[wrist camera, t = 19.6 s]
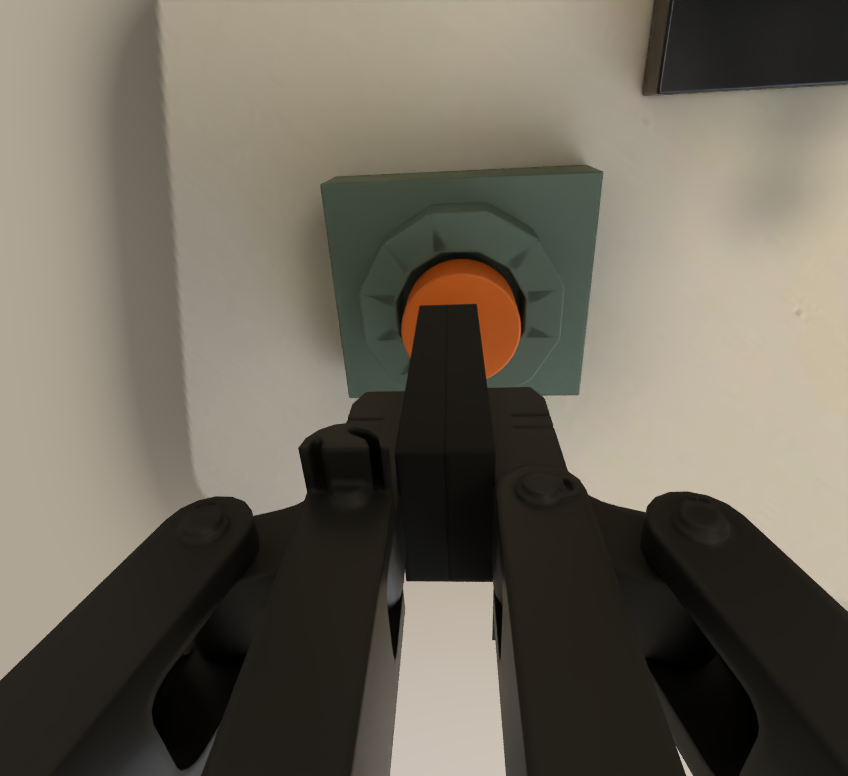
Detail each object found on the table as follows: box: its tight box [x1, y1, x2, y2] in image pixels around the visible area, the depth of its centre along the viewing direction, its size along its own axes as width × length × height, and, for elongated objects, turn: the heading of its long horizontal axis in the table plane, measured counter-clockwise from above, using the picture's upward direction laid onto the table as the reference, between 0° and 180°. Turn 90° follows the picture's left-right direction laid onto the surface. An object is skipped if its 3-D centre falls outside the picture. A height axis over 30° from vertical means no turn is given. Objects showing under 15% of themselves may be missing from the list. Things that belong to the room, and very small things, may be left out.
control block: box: [321, 165, 603, 398], centre depth 18 cm, size 9×8×4 cm
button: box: [401, 259, 521, 379], centre depth 16 cm, size 4×4×2 cm
